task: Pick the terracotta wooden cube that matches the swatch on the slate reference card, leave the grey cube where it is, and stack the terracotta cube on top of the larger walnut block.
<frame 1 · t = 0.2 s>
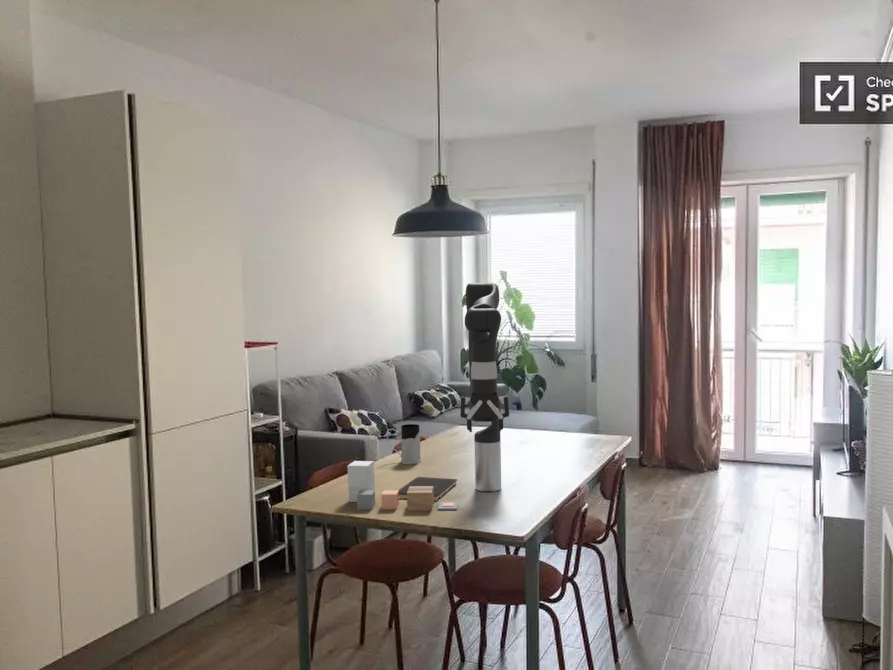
hand: (485, 431, 223), 29 cm above the table, tool pointing down, fingers open, 8 cm apart
hardcover book: (426, 492, 269), on the table
grey cube: (366, 507, 250), on the table
reference card: (448, 506, 248), on the table
supplement box: (362, 500, 259), on the table
terracotta block: (390, 507, 249), on the table
walnut base block: (420, 507, 249), on the table
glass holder: (404, 462, 315), on the table
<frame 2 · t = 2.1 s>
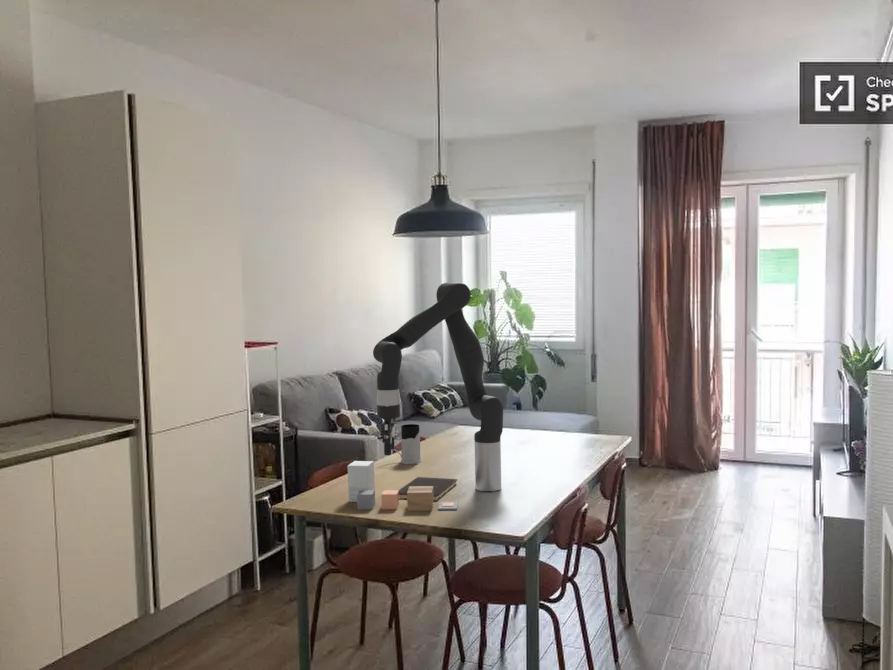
hand: (389, 452, 248), 18 cm above the table, tool pointing down, fingers open, 8 cm apart
nothing on the table moved.
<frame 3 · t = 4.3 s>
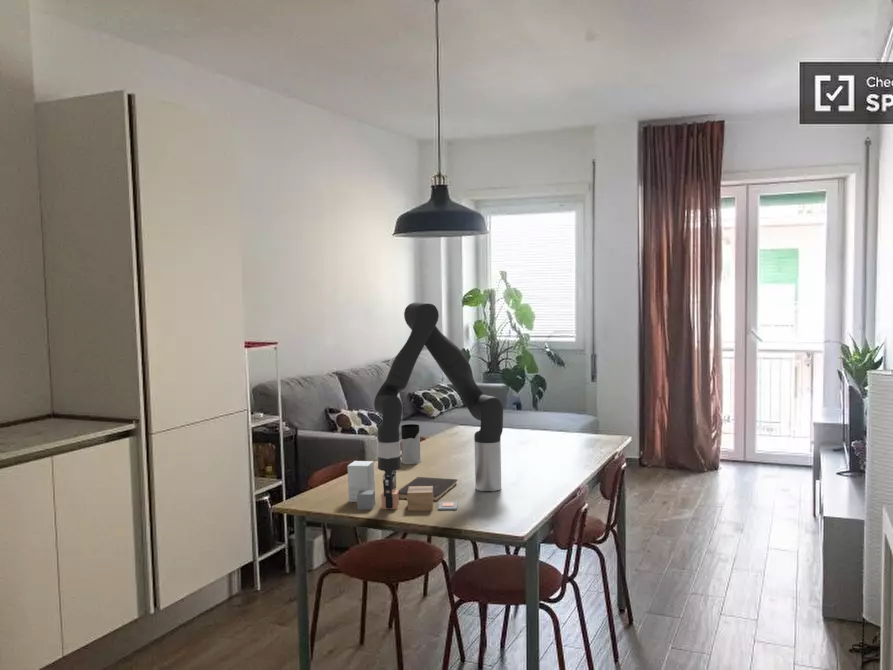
hand: (390, 505, 249), 0 cm above the table, tool pointing down, fingers closed on terracotta block, 5 cm apart
terracotta block: (390, 507, 250), on the table, touching gripper
everything else where it was.
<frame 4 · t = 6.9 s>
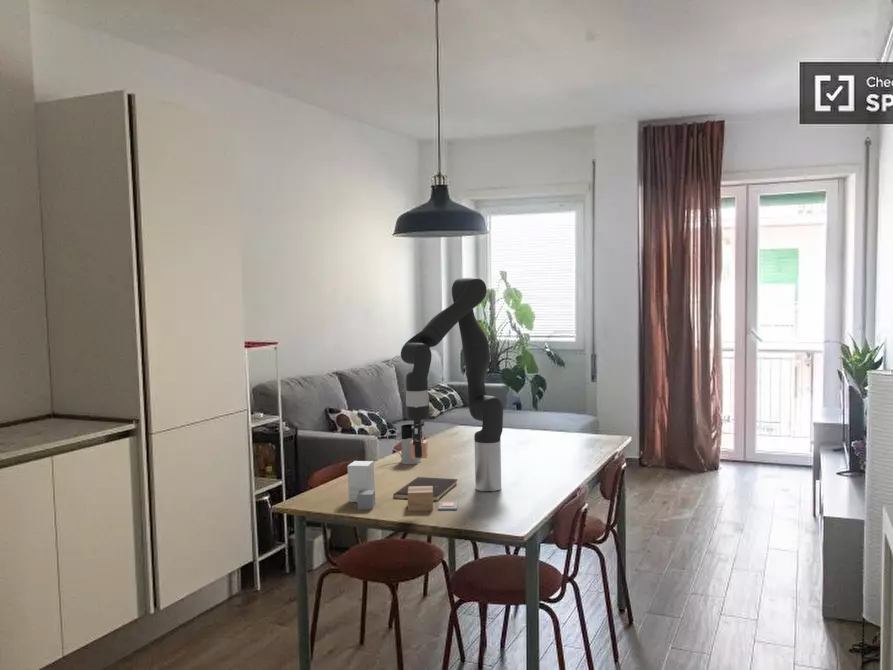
hand: (419, 455, 248), 17 cm above the table, tool pointing down, fingers closed on terracotta block, 5 cm apart
terracotta block: (419, 456, 248), point 17 cm above the table, touching gripper
everything else where it was.
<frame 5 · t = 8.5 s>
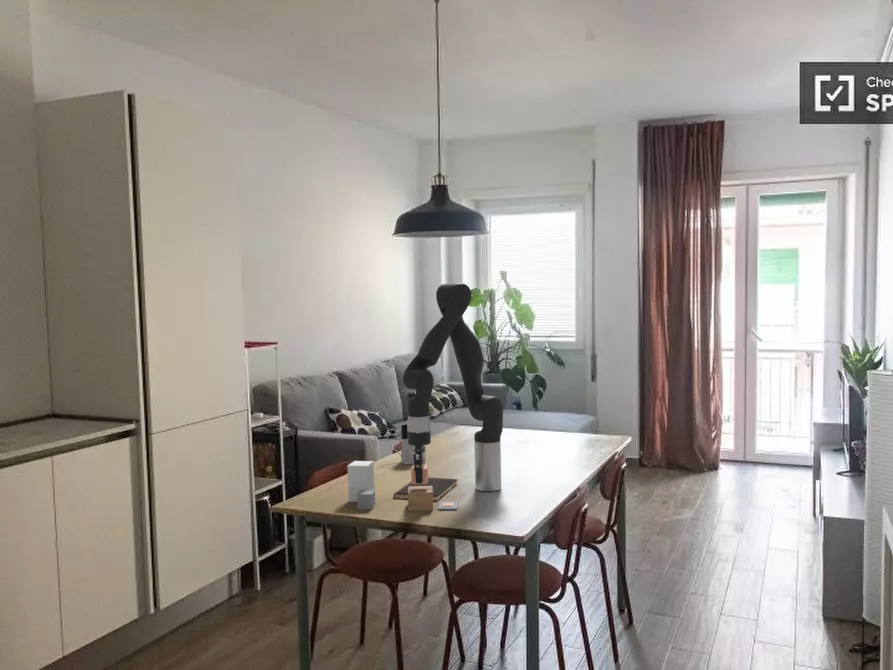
hand: (419, 480, 248), 9 cm above the table, tool pointing down, fingers closed on terracotta block, 5 cm apart
terracotta block: (420, 482, 248), point 8 cm above the table, touching gripper
everything else where it was.
when the fingers open (8 cm above the table, at t = 9.5 s): terracotta block drops 2 cm, resting on walnut base block.
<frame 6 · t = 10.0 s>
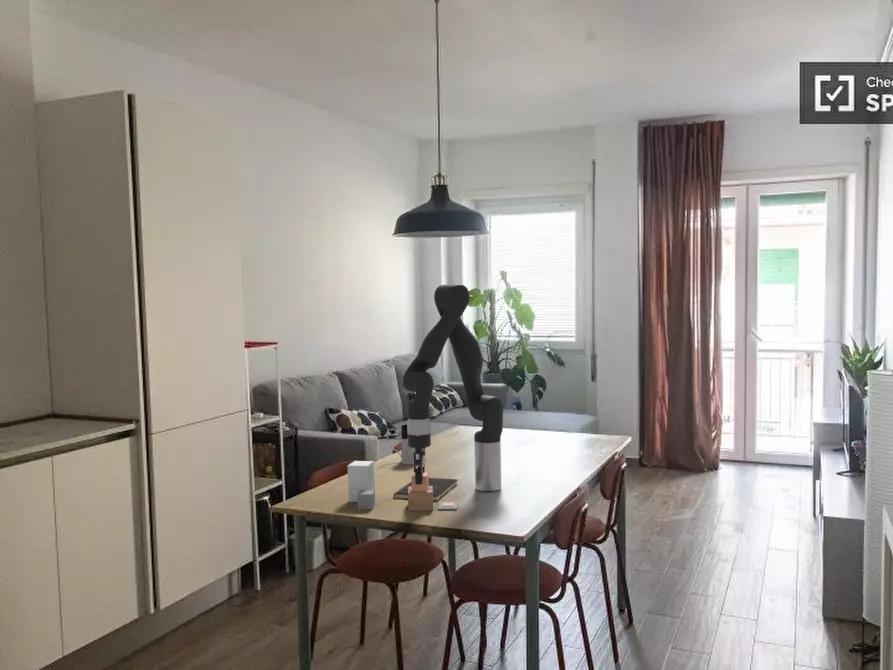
hand: (420, 480, 248), 9 cm above the table, tool pointing down, fingers open, 8 cm apart
terracotta block: (420, 489, 248), point 6 cm above the table, touching walnut base block
walnut base block: (420, 507, 249), on the table, touching terracotta block
everything else where it was.
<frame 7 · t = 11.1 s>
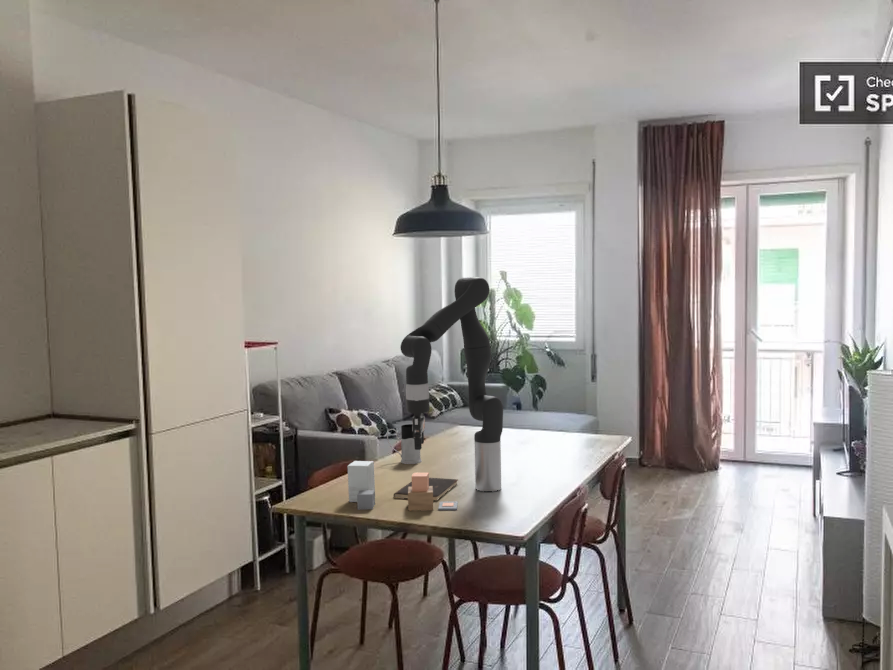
hand: (419, 446, 248), 20 cm above the table, tool pointing down, fingers open, 8 cm apart
terracotta block: (420, 489, 248), point 6 cm above the table
walnut base block: (420, 507, 249), on the table
everything else where it was.
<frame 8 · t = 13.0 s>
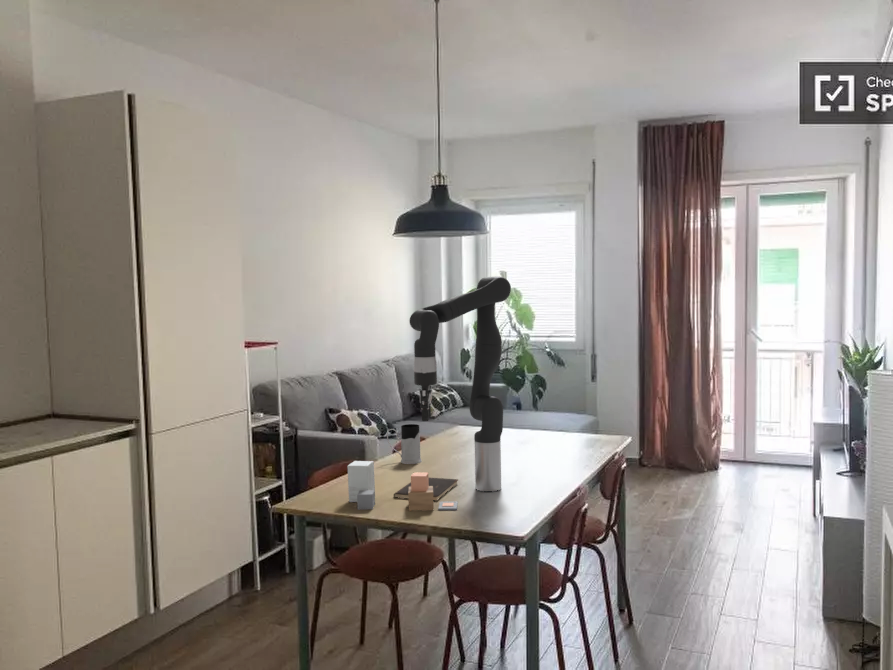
hand: (426, 418, 253), 28 cm above the table, tool pointing down, fingers open, 8 cm apart
terracotta block: (420, 489, 249), point 6 cm above the table, touching walnut base block
walnut base block: (421, 507, 249), on the table, touching terracotta block
everything else where it was.
at the end: terracotta block 0.2 cm off-centre on the walnut base block, point 6.0 cm above the walnut base block's base; terracotta block tilted 0°; the gripper is holding nothing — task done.
